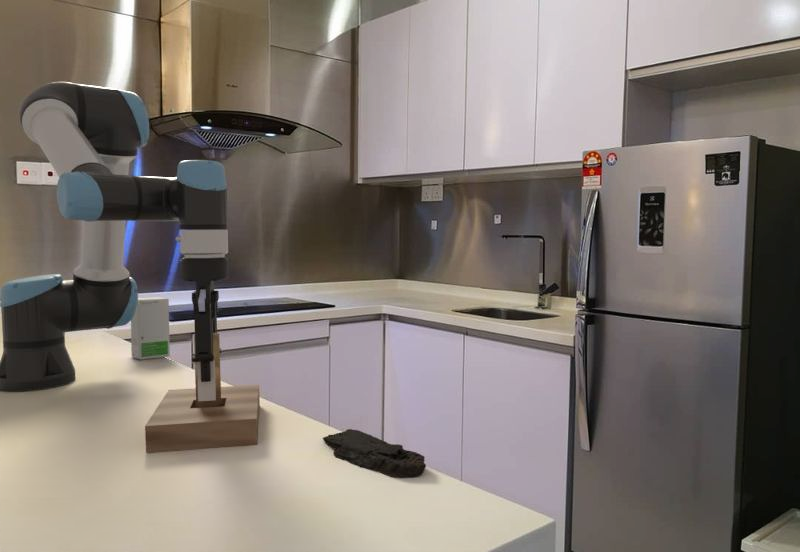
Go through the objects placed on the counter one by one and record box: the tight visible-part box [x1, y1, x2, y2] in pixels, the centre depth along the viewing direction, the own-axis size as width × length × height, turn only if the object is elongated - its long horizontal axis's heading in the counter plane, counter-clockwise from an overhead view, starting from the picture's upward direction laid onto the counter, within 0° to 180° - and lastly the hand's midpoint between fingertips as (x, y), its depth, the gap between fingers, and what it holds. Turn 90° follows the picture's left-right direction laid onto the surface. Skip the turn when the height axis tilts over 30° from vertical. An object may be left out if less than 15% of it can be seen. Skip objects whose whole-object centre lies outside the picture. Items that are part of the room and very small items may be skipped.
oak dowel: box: [193, 332, 222, 408], centre depth 104 cm, size 4×4×14 cm
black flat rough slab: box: [322, 428, 427, 479], centre depth 90 cm, size 22×7×3 cm, turn 38°
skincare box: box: [130, 296, 171, 360], centre depth 165 cm, size 8×7×16 cm
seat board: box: [144, 384, 261, 454], centre depth 105 cm, size 22×16×4 cm
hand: (208, 396), depth 104 cm, fingers open, 4 cm apart
